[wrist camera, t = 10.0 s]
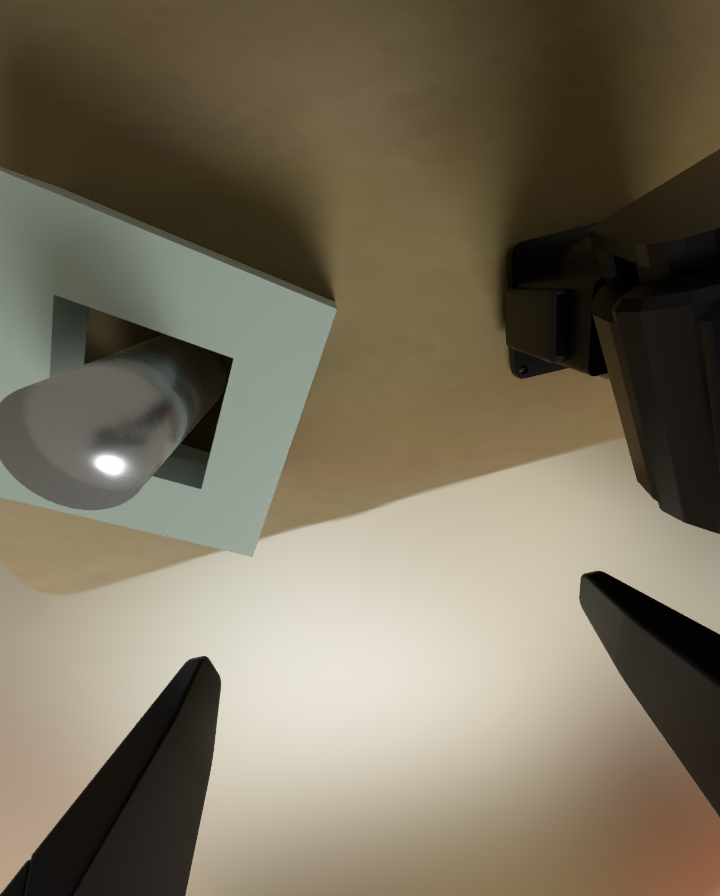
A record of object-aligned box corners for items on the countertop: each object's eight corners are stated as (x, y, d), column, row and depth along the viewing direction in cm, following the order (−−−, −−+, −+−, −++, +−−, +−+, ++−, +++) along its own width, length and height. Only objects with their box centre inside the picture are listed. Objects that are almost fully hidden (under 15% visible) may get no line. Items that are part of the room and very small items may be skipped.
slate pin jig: (335, 302, 17) (337, 309, 13) (268, 499, 22) (252, 556, 17) (60, 187, 15) (-59, 146, 10) (48, 439, 19) (-39, 488, 15)
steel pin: (206, 322, 17) (100, 367, 9) (238, 399, 19) (172, 493, 11) (128, 343, 17) (-45, 404, 9) (166, 417, 19) (49, 523, 11)
